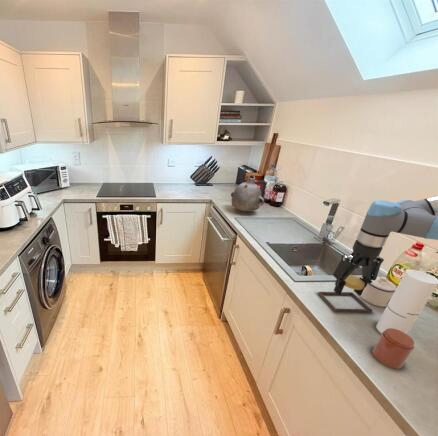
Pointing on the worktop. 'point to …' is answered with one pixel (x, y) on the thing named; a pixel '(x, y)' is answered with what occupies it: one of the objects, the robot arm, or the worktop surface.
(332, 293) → the dark rectangular frame
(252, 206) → the jug
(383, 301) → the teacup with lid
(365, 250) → the robot arm
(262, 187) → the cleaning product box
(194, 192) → the worktop surface
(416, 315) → the cylindrical container
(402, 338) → the jar
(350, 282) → the jar lid
